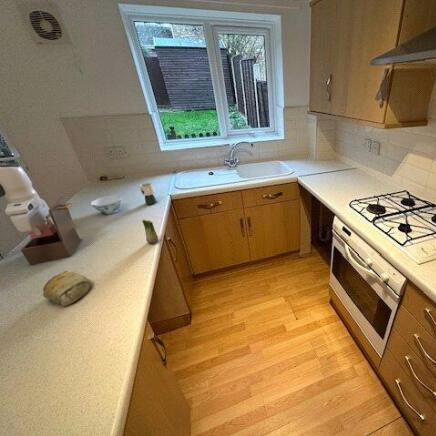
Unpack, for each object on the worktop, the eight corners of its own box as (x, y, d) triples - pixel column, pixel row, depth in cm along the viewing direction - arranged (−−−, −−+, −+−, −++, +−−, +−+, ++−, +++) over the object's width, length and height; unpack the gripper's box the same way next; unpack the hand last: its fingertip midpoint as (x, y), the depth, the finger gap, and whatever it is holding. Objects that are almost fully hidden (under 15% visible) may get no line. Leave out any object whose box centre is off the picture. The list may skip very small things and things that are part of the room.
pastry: (56, 286, 90) (46, 269, 86) (96, 276, 94) (88, 260, 91) (39, 313, 78) (26, 296, 75) (85, 301, 83) (75, 284, 79)
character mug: (144, 202, 160) (138, 183, 154) (155, 199, 163) (150, 181, 157) (146, 207, 152) (140, 188, 146) (159, 204, 156) (153, 185, 150)
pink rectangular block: (32, 238, 102) (27, 231, 101) (36, 233, 106) (32, 226, 104) (53, 234, 105) (49, 227, 103) (56, 230, 109) (53, 223, 107)
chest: (30, 265, 101) (20, 249, 98) (45, 246, 114) (36, 232, 110) (70, 256, 106) (62, 241, 103) (80, 239, 119) (73, 225, 115)
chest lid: (48, 210, 96) (62, 209, 98) (61, 197, 109) (73, 196, 111) (60, 241, 102) (73, 239, 104) (72, 225, 115) (83, 223, 117)
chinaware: (118, 204, 156) (114, 193, 153) (129, 210, 149) (125, 198, 145) (92, 213, 145) (86, 201, 142) (102, 219, 138) (97, 207, 134)
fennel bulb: (160, 242, 115) (153, 220, 110) (149, 246, 113) (141, 224, 107) (157, 238, 119) (150, 216, 114) (146, 241, 116) (138, 220, 111)
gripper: (27, 195, 105) (43, 222, 112) (2, 213, 89) (22, 244, 95) (45, 192, 108) (60, 219, 114) (24, 210, 91) (42, 240, 98)
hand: (42, 231), depth 105 cm, fingers closed on pink rectangular block, 4 cm apart
